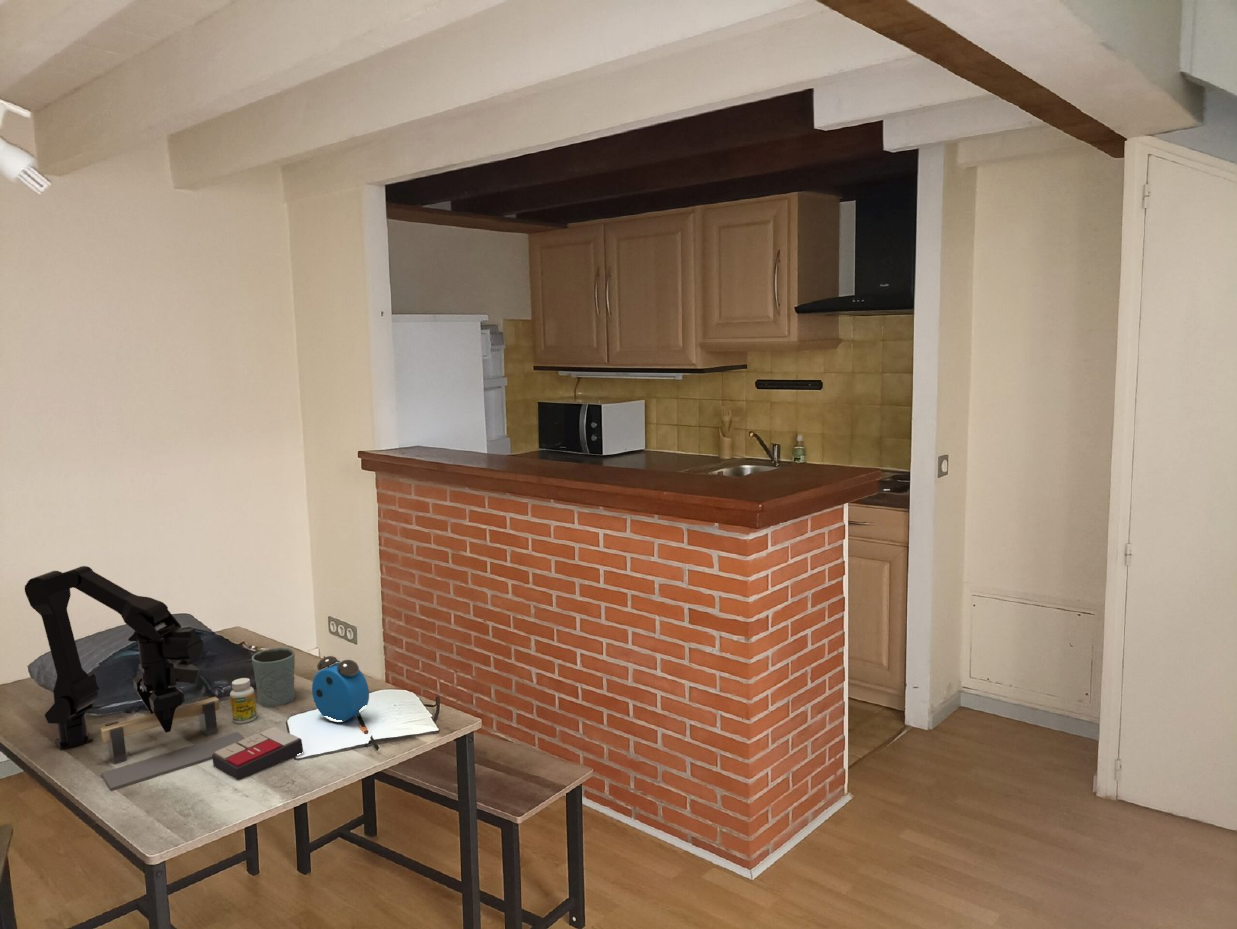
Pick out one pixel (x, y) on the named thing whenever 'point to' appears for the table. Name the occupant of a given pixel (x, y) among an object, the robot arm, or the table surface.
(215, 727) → the bracket
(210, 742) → the rubber mat
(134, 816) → the table surface
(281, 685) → the green plant pot
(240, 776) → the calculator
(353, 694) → the alarm clock
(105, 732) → the beech rail
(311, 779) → the table surface
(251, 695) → the supplement bottle
